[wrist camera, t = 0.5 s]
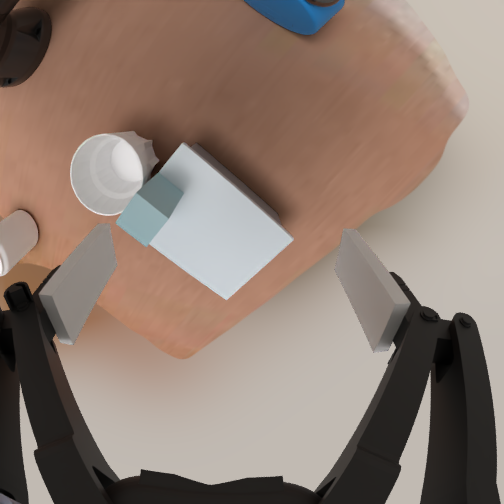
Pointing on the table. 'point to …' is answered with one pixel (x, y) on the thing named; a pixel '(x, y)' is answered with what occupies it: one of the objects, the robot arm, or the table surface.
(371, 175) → the table surface
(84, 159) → the cup
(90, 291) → the robot arm
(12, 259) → the beverage can
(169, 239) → the pale blue stand
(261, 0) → the alarm clock
